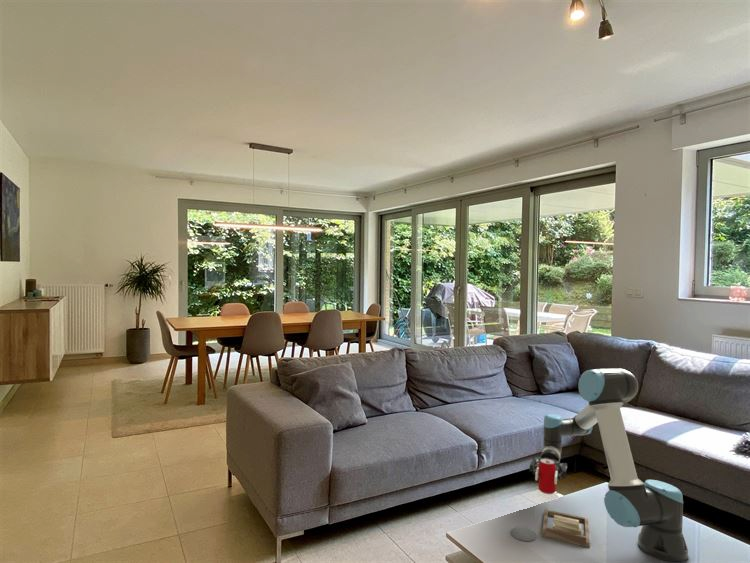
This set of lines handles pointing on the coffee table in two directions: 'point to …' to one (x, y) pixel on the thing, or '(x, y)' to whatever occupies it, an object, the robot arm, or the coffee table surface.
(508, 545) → the coffee table surface
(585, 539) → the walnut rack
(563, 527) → the plywood offcut stack
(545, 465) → the beverage can
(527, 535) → the slate pad
